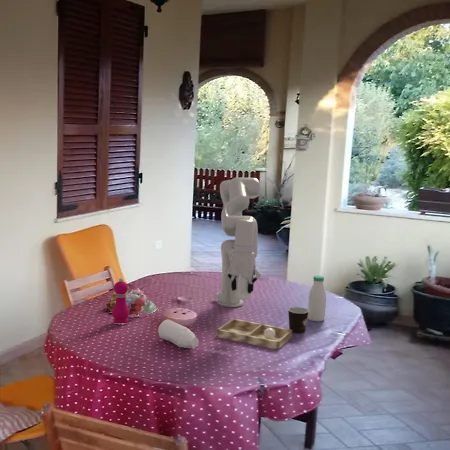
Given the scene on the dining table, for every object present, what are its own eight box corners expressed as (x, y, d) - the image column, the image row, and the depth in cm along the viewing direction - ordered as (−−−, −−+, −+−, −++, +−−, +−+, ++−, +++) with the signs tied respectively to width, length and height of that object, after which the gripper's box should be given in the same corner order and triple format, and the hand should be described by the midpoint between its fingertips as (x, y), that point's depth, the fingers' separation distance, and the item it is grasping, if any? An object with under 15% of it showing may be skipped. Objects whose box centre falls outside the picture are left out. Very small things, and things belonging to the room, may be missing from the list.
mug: (238, 294, 251) (239, 266, 249) (253, 296, 248) (254, 268, 246) (230, 300, 241) (231, 271, 239) (245, 302, 239) (246, 273, 237)
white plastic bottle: (186, 355, 223) (187, 335, 221) (157, 340, 237) (157, 321, 235) (202, 350, 228) (203, 331, 227) (173, 336, 242) (173, 317, 240)
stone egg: (261, 340, 238) (262, 329, 237) (265, 336, 243) (266, 325, 242) (272, 342, 236) (273, 331, 235) (276, 338, 241) (277, 327, 240)
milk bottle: (324, 322, 265) (327, 279, 261) (306, 320, 266) (309, 278, 263) (324, 317, 272) (327, 275, 268) (308, 315, 274) (310, 273, 270)
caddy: (216, 338, 241) (216, 329, 240) (232, 326, 255) (233, 318, 254) (278, 351, 230) (279, 342, 229) (292, 338, 244) (292, 329, 243)
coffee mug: (294, 337, 245) (295, 314, 243) (283, 330, 253) (284, 308, 251) (317, 333, 251) (318, 311, 249) (305, 327, 258) (306, 305, 256)
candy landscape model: (95, 312, 267) (95, 293, 266) (122, 298, 289) (122, 280, 287) (144, 321, 259) (145, 301, 257) (168, 306, 280) (169, 287, 279)
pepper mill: (132, 322, 256) (133, 277, 253) (122, 327, 250) (123, 281, 246) (118, 319, 259) (118, 275, 256) (108, 324, 253) (108, 278, 249)
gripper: (220, 248, 242) (219, 290, 245) (260, 253, 235) (258, 296, 237) (228, 245, 248) (226, 286, 251) (266, 249, 241) (264, 292, 244)
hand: (242, 290), depth 244 cm, fingers closed on mug, 6 cm apart
